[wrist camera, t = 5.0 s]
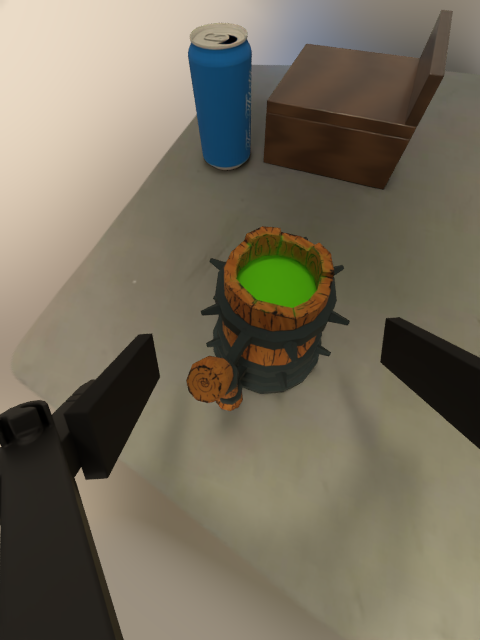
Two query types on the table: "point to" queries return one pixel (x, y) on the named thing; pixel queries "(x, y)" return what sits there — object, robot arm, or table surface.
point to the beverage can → (222, 92)
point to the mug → (266, 317)
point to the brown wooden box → (352, 108)
